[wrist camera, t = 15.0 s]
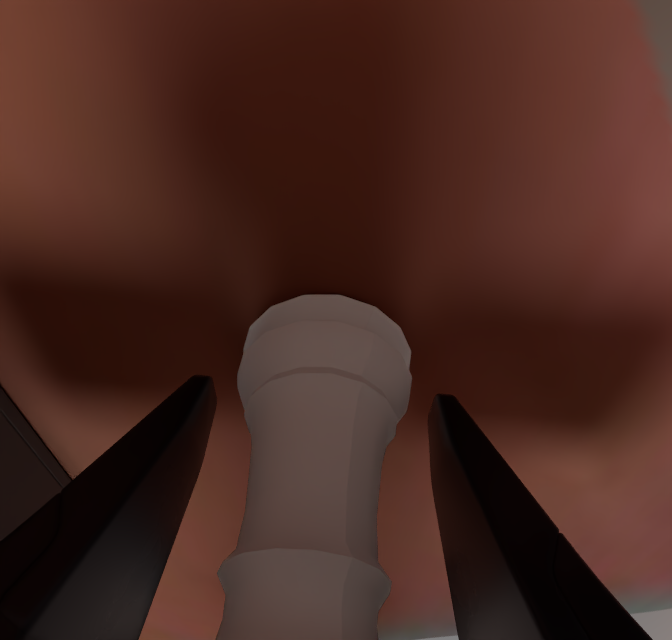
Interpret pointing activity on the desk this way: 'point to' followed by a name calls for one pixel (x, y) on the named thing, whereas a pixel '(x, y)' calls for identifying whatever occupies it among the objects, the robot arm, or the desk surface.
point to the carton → (23, 470)
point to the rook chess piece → (314, 470)
